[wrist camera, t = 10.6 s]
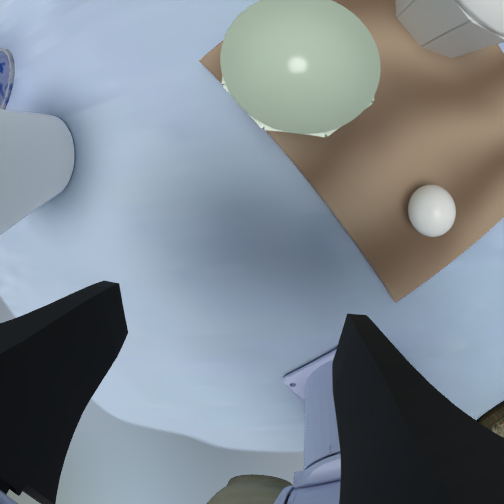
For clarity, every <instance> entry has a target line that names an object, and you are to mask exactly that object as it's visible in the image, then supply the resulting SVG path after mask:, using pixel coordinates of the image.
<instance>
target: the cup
mask: <svg viewBox="0 0 504 504" xmlns="http://www.w3.org/2000/svg"><path fill="white" fill-rule="evenodd" d="M74 158H75V153H74V144H73V139H72V136H71V133H70V131H69V129H68V127H67V126H66V124H65V123H64V122H63V121H62V120H61V119H60V118H58V117H56V116H53V115H46V114H39V113H31V112H23V111H14V110H3V109H0V236H1V235H2V234H3V233H5V232H6V231H7V230H9V229H10V228H11V227H12V226H14V225H15V224H16V223H18V222H19V221H20V220H22V219H23V218H25V217H26V216H27V215H29V214H30V213H31V212H33V211H34V210H36V209H37V208H39V207H40V206H42V205H43V204H44V203H46V202H47V201H49V200H50V199H52V198H53V197H55V196H56V195H58V194H59V193H61V192H62V191H63V190H64V189H65V187H66V186H67V184H68V182H69V180H70V178H71V175H72V172H73V167H74Z"/></svg>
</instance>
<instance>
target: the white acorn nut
mask: <svg viewBox="0 0 504 504" xmlns="http://www.w3.org/2000/svg"><path fill="white" fill-rule="evenodd" d="M395 6H396V17H398V18H397V19H398V20H399V22H400V23H401V24H402V25H403V26H404V27H405V28H406V30H407V31H408V32H409V33H410V34H411V36H412V37H413V38H414V39H415V40H416V42H417V43H418V44H419V45H420V46H422V48H425V49H428V50H431V51H433V52H436V53H439V54H441V55H444V56H447V57H449V58H455V57H458V56H461V55H464V54H467V53H470V52H473V51H476V50H479V49H482V48H486V47H489V46H492V45H496V44H499V43H503V42H504V0H395Z"/></svg>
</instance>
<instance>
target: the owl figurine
mask: <svg viewBox="0 0 504 504" xmlns="http://www.w3.org/2000/svg"><path fill="white" fill-rule="evenodd" d="M479 420H480V421H479V423H480V424H482V425H483V426H485V427H486V428H488V429H490V430H491V431H493V432H495V433H496V434H498V435H500V436H502V437H504V401H503V402H501V403H500V404H498V405H497V406H495V407H494V408H492V409H491V410H489V411H488V412H487V413H485V414H484V415H483V416H482V417H481V418H480V419H479Z"/></svg>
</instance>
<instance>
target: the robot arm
mask: <svg viewBox="0 0 504 504" xmlns="http://www.w3.org/2000/svg"><path fill="white" fill-rule="evenodd" d="M127 334H128V330H127V325H126V320H125V315H124V309H123V304H122V298H121V292H120V286H119V283H113V282H108V281H102V282H99V283H96V284H93V285H91V286H88V287H86V288H84V289H81V290H79V291H77V292H75V293H72V294H70V295H68V296H66V297H64V298H62V299H59V300H57V301H55V302H53V303H51V304H49V305H46V306H44V307H41V308H39V309H37V310H34V311H32V312H30V313H28V314H25V315H23V316H20V317H18V318H15V319H12V320H9V321H6V322H4V323H0V504H17V503H16V502H15V501H14V500H12V499H11V498H10V497H8V496H7V495H6V494H7V492H8V490H9V489H10V490H11V491H13V492H14V493H15V494H17V495H20V494H21V492H22V491H23V492H25V493H26V494H27V495H29V496H30V497H32V498H33V499H35V500H36V501H38V502H39V503H41V504H55V502H56V495H57V489H58V484H59V479H60V474H61V471H62V467H63V464H64V460H65V457H66V453H67V450H68V448H69V445H70V442H71V439H72V437H73V434H74V432H75V429H76V427H77V424H78V422H79V420H80V418H81V415H82V413H83V411H84V409H85V407H86V406H87V404H88V402H89V401H90V399H91V397H92V396H93V394H94V392H95V391H96V389H97V388H98V386H99V385H100V383H101V381H102V380H103V378H104V377H105V375H106V374H107V372H108V370H109V369H110V367H111V366H112V364H113V362H114V361H115V359H116V358H117V356H118V354H119V352H120V350H121V348H122V345H123V343H124V341H125V339H126V336H127ZM283 382H284V384H285V385H287V386H288V387H289V388H290V389H291V390H292V391H294V392H295V393H296V394H297V395H298V396H300V397H301V398H302V399H303V400H304V401H305V440H304V470H303V471H299V472H296V473H294V485H292V486H288V487H286V488H284V489H283V490H282V491H281V493H280V494H279V496H278V498H277V499H276V501H275V502H274V504H504V437H502V436H500V435H498V434H496V433H495V432H493V431H491V430H490V429H488V428H486V427H485V426H483V425H482V424H480V423H479V422H477V421H476V420H474V419H473V418H472V417H470V416H469V415H467V414H466V413H464V412H463V411H462V410H461V409H459V408H458V407H457V406H455V405H454V404H453V403H452V402H451V401H449V400H448V399H447V398H446V397H445V396H443V395H442V394H441V393H440V392H439V391H438V390H437V389H435V388H434V387H433V386H432V385H431V384H430V383H429V382H428V381H427V380H426V379H425V378H424V377H423V376H422V375H421V374H420V373H419V372H418V371H417V370H416V369H415V368H414V367H413V366H412V365H411V364H410V363H409V362H408V361H407V360H406V359H405V358H404V356H403V355H402V354H401V353H400V352H399V351H398V350H397V349H396V348H395V346H394V345H393V344H392V343H391V342H390V341H389V340H388V339H387V337H386V336H385V335H384V334H383V333H382V332H381V331H380V329H379V328H378V327H377V326H376V325H375V324H374V323H373V322H372V321H371V319H370V318H369V317H368V316H367V315H355V314H347V317H346V320H345V324H344V327H343V331H342V334H341V337H340V340H339V344H338V347H337V349H336V350H334V351H332V352H330V353H328V354H327V355H325V356H323V357H321V358H319V359H317V360H315V361H314V362H312V363H310V364H308V365H306V366H304V367H302V368H300V369H298V370H296V371H294V372H292V373H290V374H288V375H286V376H285V377H284V378H283ZM292 383H294V384H292Z"/></svg>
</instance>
